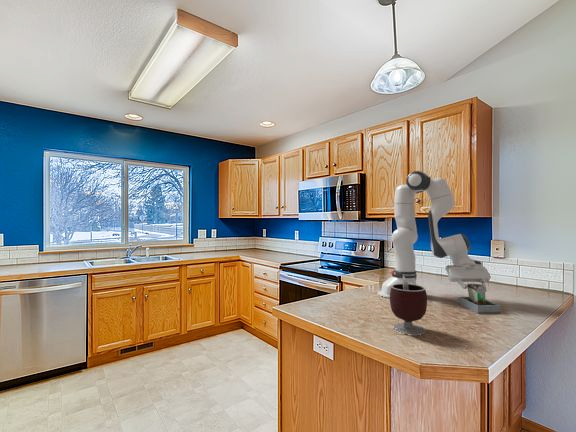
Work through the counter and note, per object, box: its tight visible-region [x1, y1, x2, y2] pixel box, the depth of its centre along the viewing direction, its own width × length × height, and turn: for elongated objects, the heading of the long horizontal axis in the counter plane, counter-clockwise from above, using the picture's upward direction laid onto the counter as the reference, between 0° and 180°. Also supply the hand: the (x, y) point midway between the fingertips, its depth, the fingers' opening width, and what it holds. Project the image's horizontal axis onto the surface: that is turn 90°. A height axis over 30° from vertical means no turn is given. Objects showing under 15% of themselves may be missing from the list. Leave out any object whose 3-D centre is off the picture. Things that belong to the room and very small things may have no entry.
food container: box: [466, 283, 487, 305], centre depth 152 cm, size 12×6×10 cm, turn 171°
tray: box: [457, 296, 501, 314], centre depth 152 cm, size 11×17×4 cm, turn 0°
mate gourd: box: [389, 276, 428, 336], centre depth 124 cm, size 16×14×20 cm
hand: (474, 288), depth 154 cm, fingers open, 8 cm apart
